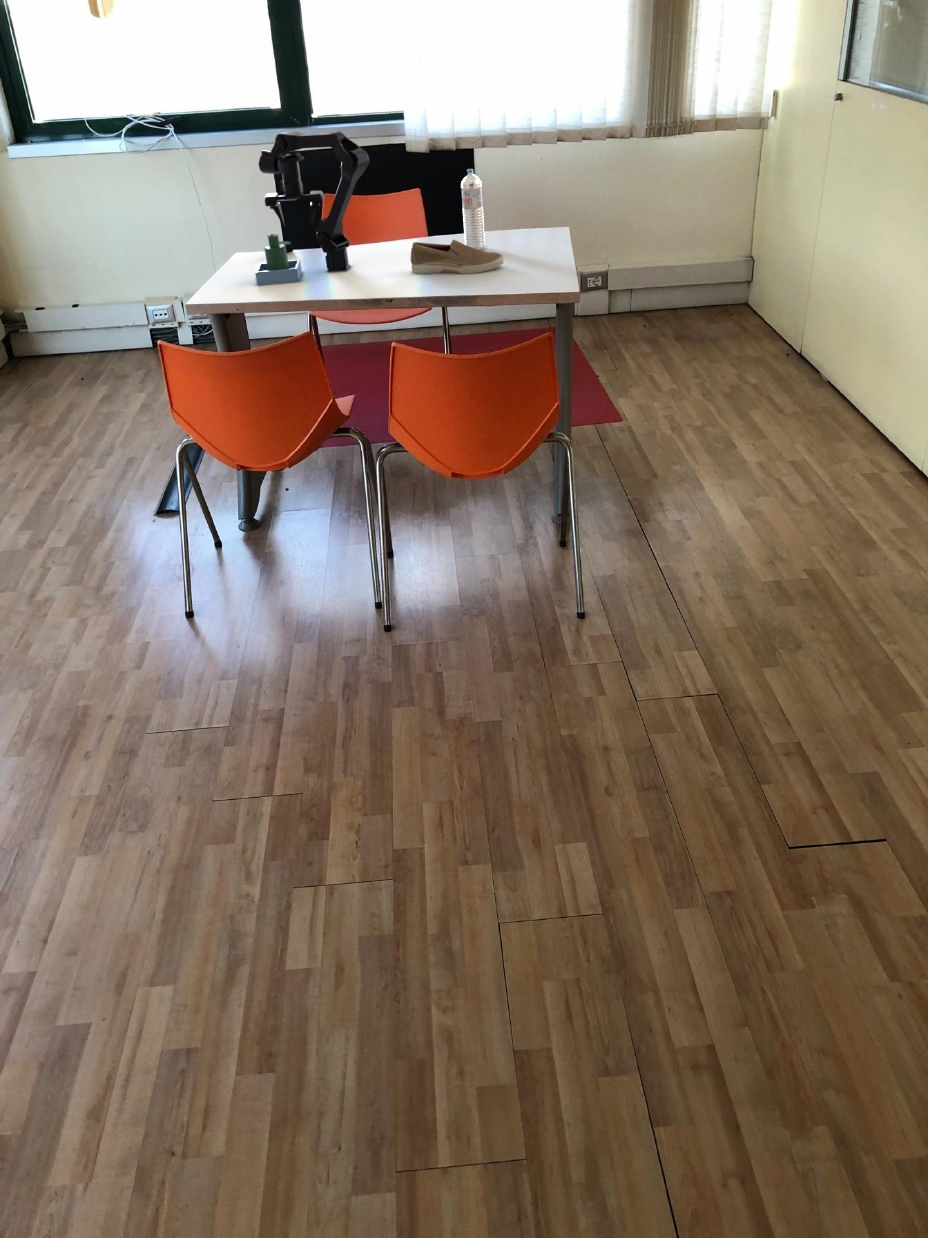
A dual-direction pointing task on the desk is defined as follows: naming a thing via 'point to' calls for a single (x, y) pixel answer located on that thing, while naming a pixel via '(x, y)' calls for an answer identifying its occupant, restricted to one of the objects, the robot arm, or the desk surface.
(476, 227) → the water bottle
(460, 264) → the slip on shoe
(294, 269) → the tote
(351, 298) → the desk surface
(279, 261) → the bottle
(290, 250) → the tape measure
